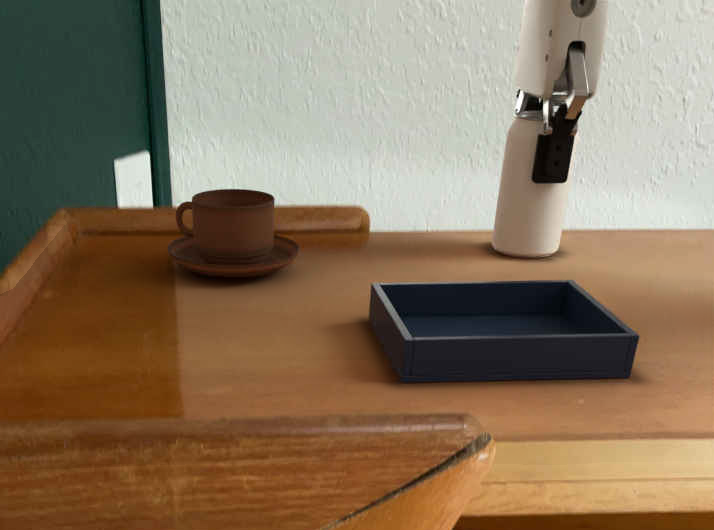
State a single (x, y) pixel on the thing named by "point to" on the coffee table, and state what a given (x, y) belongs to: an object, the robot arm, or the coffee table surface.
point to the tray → (499, 331)
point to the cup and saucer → (231, 235)
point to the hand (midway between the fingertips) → (536, 173)
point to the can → (528, 195)
